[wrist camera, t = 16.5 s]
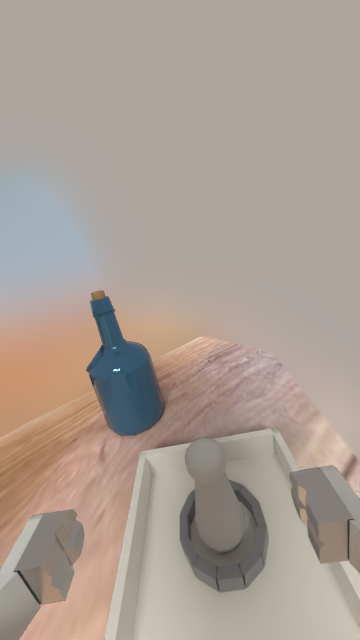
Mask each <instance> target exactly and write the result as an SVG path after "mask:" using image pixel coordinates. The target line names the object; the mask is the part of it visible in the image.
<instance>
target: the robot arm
mask: <svg viewBox="0 0 360 640" xmlns="http://www.w3.org/2000/svg"><path fill="white" fill-rule="evenodd" d="M289 476H290V481H291V483H292V485H293V486H292V488H291V495H292V499H293V503H294V506H295V508H296V511H297V513H298V516H299V518H300V520H301V522H302V523H304V524H305V525H306V526H307V528H308V538H309V540H310V542H311V544H312V546H313V549H314V551H315V553H316V555H317V557H318V559H319V561H320V564H323V563H332V562H341V561H349V563H350V564H351V565H352V566H353V567H354V568H355V569H356V570H357V571H358V572H359V573H360V499H359V498H358V496H357V495H356V494H355V492H354V491H353V490H352V488H351V487H350V486H349V484H348V483H347V482H346V480H345V479H344V477H343V476H342V475H341V473H340V472H339V471H338V469H337V468H336V467H334V466H333V465H329V466H324V467H319V468H317V467H316V468H310V469H305V470H300V471H294V472H290V474H289ZM76 517H77V514H76V512H75V510H74V509H71V510H64V511H57V512H51V513H43V514H37V515H33V516H32V517H31V518H30V519H29V520H28V522H27V523H26V525H25V527H24V529H23V530H22V532H21V534H20V536H19V538H18V539H17V541H16V543H15V545H14V546H13V548H12V550H11V552H10V554H9V555H8V557H7V559H6V561H5V562H4V564H3V566H2V568H1V570H0V640H19V639H20V637H21V636H22V634H23V633H24V631H25V630H26V628H27V627H28V625H29V624H30V622H31V621H32V619H33V618H34V616H35V615H36V613H37V612H38V610H39V609H40V607H41V606H40V605H44V604H50V603H55V602H61V601H65V600H66V597H67V594H68V591H69V588H70V585H71V581H72V578H73V575H74V568H73V564H74V563H75V561H76V560H77V559H78V558H79V556H80V554H81V550H82V547H83V542H84V529H83V526H82V524H81V523H80V522H79V521H77V520H75V519H76Z"/></svg>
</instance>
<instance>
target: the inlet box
mask: <svg viewBox="0 0 360 640" xmlns="http://www.w3.org/2000/svg"><path fill="white" fill-rule="evenodd" d="M214 439H215V440H216V441H217V442H219V443H220V444H221V446H222V448H223V450H224V452H225V455H226V469H225V473H226V476H227V478H228V480H229V482H230V484H231V486H232V488H233V490H234V493H235V495H236V497H237V499H238V501H239V503H240V505H241V507H242V509H243V512H244V514H245V532H244V535H243V537H242V540H241V542H240V544H239V546H238V547H237V548H236V549H234V550H231V551H229V552H227V553H225V554H221V553H220V552H218V551H216V550H213V549H211V548H209V547H208V546H207V545H206V544H205V543H204V541H203V540H202V539H201V537H200V536H199V533H198V529H197V525H196V519H195V480H194V479H193V478H192V477H191V476H190V475H189V473H188V470H187V466H186V463H185V454H186V449H187V448H188V447H189V445H190V444H191V443H192V442H191V443H186V444H180V445H175V446H169V447H163V448H158V449H152V450H147V451H141V452H140V457H139V462H138V467H137V472H136V478H135V483H134V488H133V493H132V498H131V503H130V509H129V514H128V519H127V524H126V529H125V534H124V540H123V545H122V550H121V555H120V560H119V566H118V571H117V576H116V581H115V586H114V591H113V597H112V602H111V607H110V612H109V617H108V622H107V628H106V633H105V638H104V640H360V575H359V573H358V571H357V570H356V569H355V568H354V567H353V566H352V565H351V564H350V563H349V561H341V562H332V563H323V564H320V561H319V559H318V557H317V555H316V553H315V551H314V549H313V546H312V544H311V542H310V540H309V538H308V528H307V526H306V525H305V524H304V523H302V522H301V520H300V518H299V516H298V513H297V511H296V508H295V506H294V503H293V499H292V495H291V488H292V486H293V485H292V483H291V481H290V476H289V474H290V472H294V471H300V470H301V469H300V467H299V466H298V464H297V462H296V460H295V459H294V457H293V455H292V453H291V451H290V450H289V448H288V446H287V444H286V442H285V441H284V439H283V437H282V435H281V434H280V432H279V430H278V428H277V427H276V428H270V429H265V430H259V431H253V432H248V433H242V434H236V435H231V436H225V437H220V438H214Z"/></svg>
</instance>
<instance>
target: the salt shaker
mask: <svg viewBox="0 0 360 640" xmlns="http://www.w3.org/2000/svg"><path fill="white" fill-rule="evenodd" d="M185 463H186V466H187V470H188V473H189V475H190V476H191V477H192V478H193V479H194V480H195V519H196V525H197V529H198V533H199V536H200V537H201V539H202V540H203V541H204V543H205V544H206V545H207V546H208V547H209V548H211V549H213V550H216V551H218V552H220V553H221V554H225V553H227V552H229V551H231V550H234V549H236V548H237V547H238V546H239V544H240V542H241V540H242V537H243V535H244V532H245V514H244V512H243V509H242V507H241V505H240V503H239V501H238V499H237V497H236V495H235V493H234V490H233V488H232V486H231V484H230V482H229V480H228V478H227V476H226V473H225V469H226V455H225V452H224V450H223V448H222V446H221V444H220V443H219V442H217V441H216V440H215V439H211V438H199V439H197V440H195V441H194V442H192V443H191V444H190V445H189V447H188V448H187V449H186V454H185Z"/></svg>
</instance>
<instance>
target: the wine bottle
mask: <svg viewBox="0 0 360 640" xmlns="http://www.w3.org/2000/svg"><path fill="white" fill-rule="evenodd" d="M91 296H92V299H93V300H91V301H90V303H91V308H92V313H93V317H95V320H96V323H97V327H98V330H99V333H100V337H101V340H102V343H103V345H101V347H100V349H99V351H98V352H97V354H96V355H95V357H94V358H93V360H92V362H91V363H90V364H89V366H88V367H87V370H86V371H87V372H89V374H90V375H89V376H90V379H91V382H92V385H93V387H94V390H95V392H96V395H97V398H98V400H99V403H100V406H101V408H102V411H103V414H104V416H105V419H106V422H107V424H108V427H109V428H110V429H111V430H112V431H114V432H115V433H117V434H118V435H120V436H128V435H136V434H138V433H141V432H143V431H145V430H148V429H150V428H151V427H152V426H153V425H154V424H155V423H156V422H157V421H158V420H159V419H160V417H161V414H162V411H163V408H164V403H163V399H162V396H161V392H160V389H159V385H158V381H157V378H156V374H155V371H154V367H153V364H152V360H151V357H150V354H149V353H148V351H147V349H146V348H145V347H144V346H143V345H142V344H139V343H136V342H130V341H126V340H125V339H123V336H122V333H121V331H120V328H119V325H118V322H117V319H116V316H115V314H114V312H115V309H114V308H113V306H112V304H111V301H110V299H109V297H108V296H105V293H104V291H96V292H93V293H91Z"/></svg>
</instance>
